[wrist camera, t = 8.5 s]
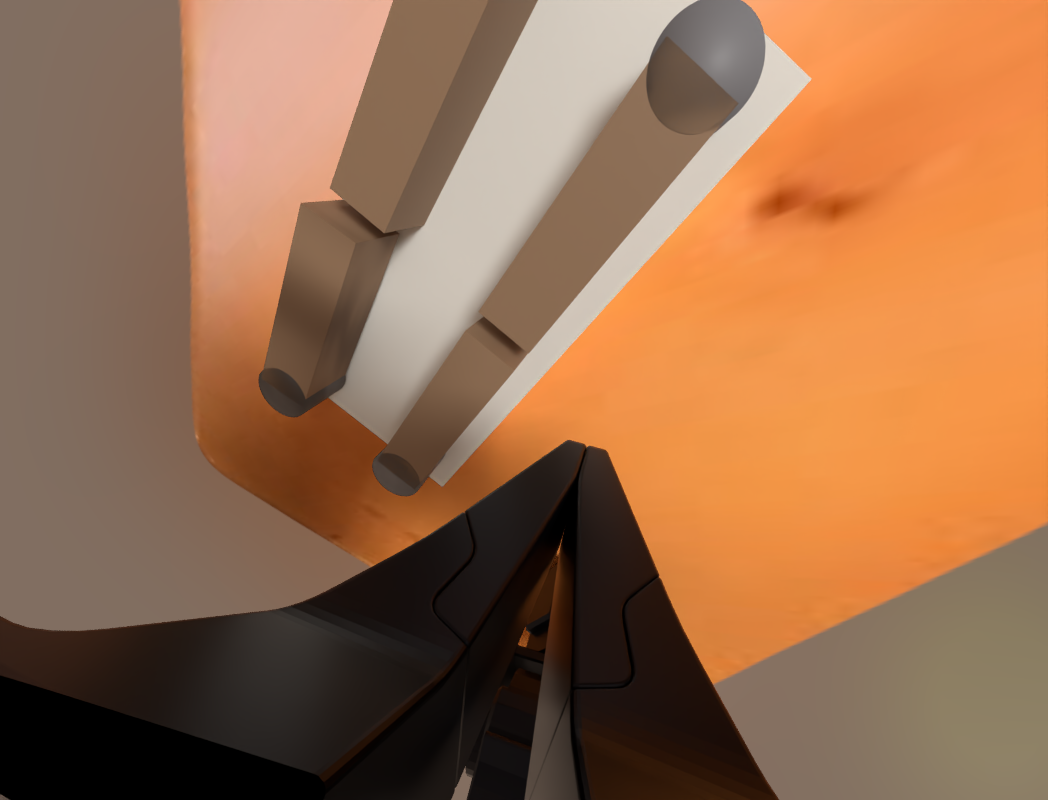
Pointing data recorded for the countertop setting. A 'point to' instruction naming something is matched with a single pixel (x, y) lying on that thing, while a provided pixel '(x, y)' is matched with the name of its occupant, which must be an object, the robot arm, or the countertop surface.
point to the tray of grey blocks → (528, 191)
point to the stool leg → (323, 304)
